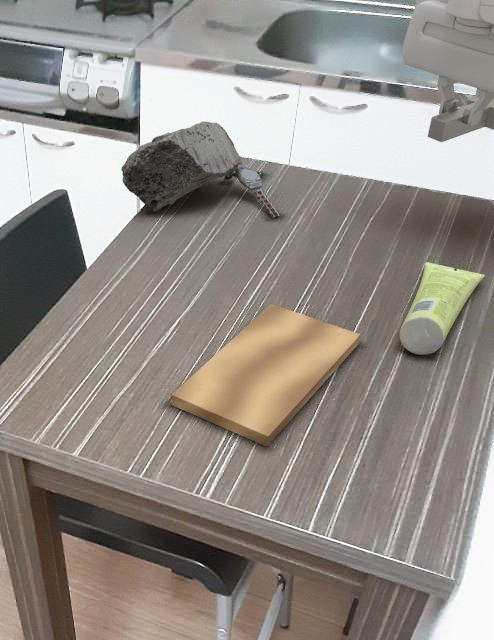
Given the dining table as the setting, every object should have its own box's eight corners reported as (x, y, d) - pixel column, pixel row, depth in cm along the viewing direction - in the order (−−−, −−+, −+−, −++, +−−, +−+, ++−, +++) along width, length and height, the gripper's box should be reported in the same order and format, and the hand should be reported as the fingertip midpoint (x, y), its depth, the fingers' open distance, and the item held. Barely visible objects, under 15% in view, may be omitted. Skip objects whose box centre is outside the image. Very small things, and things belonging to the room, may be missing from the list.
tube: (418, 367, 89) (450, 295, 101) (457, 346, 85) (485, 274, 98) (389, 330, 88) (425, 262, 100) (427, 308, 84) (460, 239, 96)
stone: (110, 122, 107) (203, 155, 102) (170, 99, 118) (256, 128, 114) (101, 205, 115) (186, 239, 110) (157, 176, 126) (237, 205, 122)
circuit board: (263, 170, 123) (259, 175, 122) (263, 174, 124) (259, 179, 123) (227, 164, 125) (223, 169, 124) (227, 168, 126) (222, 173, 125)
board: (358, 344, 90) (360, 334, 89) (266, 447, 78) (268, 436, 77) (269, 313, 95) (271, 303, 94) (171, 405, 83) (171, 394, 82)
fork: (449, 145, 96) (454, 125, 94) (419, 133, 99) (423, 113, 97) (534, 115, 101) (540, 95, 99) (503, 104, 104) (509, 85, 102)
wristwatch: (234, 175, 123) (241, 149, 119) (278, 236, 117) (287, 210, 113) (214, 180, 122) (221, 153, 118) (258, 241, 116) (267, 215, 112)
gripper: (403, -17, 93) (381, 102, 103) (546, 18, 80) (506, 150, 90) (439, -27, 95) (415, 91, 105) (585, 6, 82) (542, 136, 92)
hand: (458, 119), depth 97 cm, fingers closed on fork, 2 cm apart
